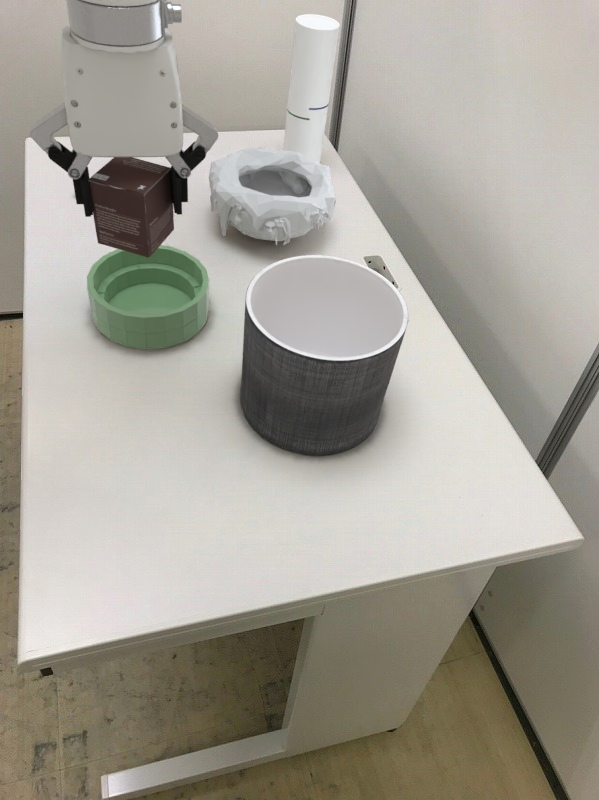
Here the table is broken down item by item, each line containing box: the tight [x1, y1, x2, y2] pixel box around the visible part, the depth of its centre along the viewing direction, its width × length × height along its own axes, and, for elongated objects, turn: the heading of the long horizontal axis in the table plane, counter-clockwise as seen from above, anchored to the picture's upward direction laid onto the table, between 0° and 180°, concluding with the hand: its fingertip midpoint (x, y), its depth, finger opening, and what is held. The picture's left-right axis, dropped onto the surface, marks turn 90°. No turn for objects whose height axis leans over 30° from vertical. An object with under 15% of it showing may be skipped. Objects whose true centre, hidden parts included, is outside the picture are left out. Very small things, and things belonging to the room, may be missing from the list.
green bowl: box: [86, 244, 210, 350], centre depth 87 cm, size 16×16×6 cm
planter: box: [239, 254, 409, 456], centre depth 75 cm, size 18×18×16 cm
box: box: [88, 157, 175, 258], centre depth 65 cm, size 6×6×7 cm
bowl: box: [208, 146, 337, 246], centre depth 103 cm, size 21×20×10 cm
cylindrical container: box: [282, 13, 341, 164], centre depth 112 cm, size 7×7×25 cm
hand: (133, 207), depth 65 cm, fingers closed on box, 8 cm apart
